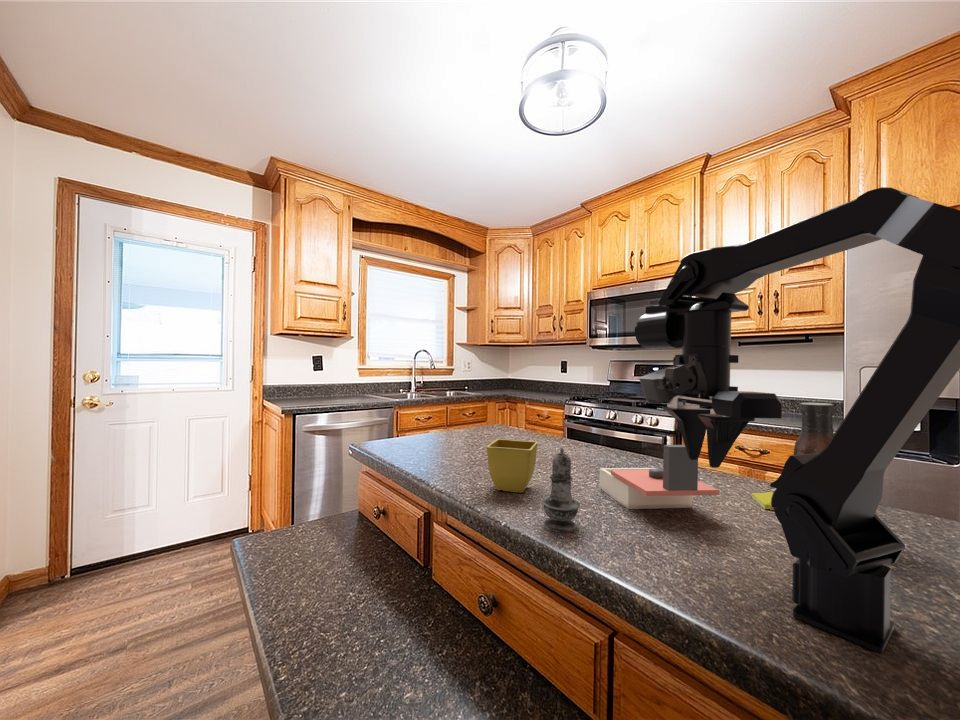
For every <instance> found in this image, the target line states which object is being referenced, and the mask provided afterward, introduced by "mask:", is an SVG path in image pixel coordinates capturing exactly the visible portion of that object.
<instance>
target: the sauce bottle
mask: <svg viewBox="0 0 960 720" xmlns="http://www.w3.org/2000/svg"><path fill="white" fill-rule="evenodd" d="M799 405H800V406H799V411H800V413H801V426H800V429H801V430H800V433H799V436H798V438H797V439H796V441H795V443H794V448H793V454H792V456H793V455H803V454H813V453H820V452H822V451H823V450H824V449H825V448H826V446H827V445H828V443H829V441H830V440H831V438H832V437H833V435H834V434H835V433H834V427H833V426H834V425H833V424H834V423H833V414H834V413H835V407H834V406H835V405H834V404H832V403H827V402H800V404H799Z"/></svg>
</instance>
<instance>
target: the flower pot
mask: <svg viewBox="0 0 960 720" xmlns="http://www.w3.org/2000/svg"><path fill="white" fill-rule="evenodd" d="M537 451H538V441H533V440H532V441H529V440H515V439H513V440H512V439H503V438H502V439H501V438H497V439H494V441H492V442H491V443H490V444H488V445H487V446H486V457H487V465H488V472H489V475H490V479H491V481H492V483H493V486H495V488H496V490H497V491H499V490H503V491H502V492H509V491H510V493H512V492H513V493H518V492H519V493H520V494H521V493H524V492H525V490H526V489H527V487H528V485H529V483H530V481H531V479H532V477H533V474H534V472H535V467H536V461H537V453H538V452H537Z"/></svg>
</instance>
